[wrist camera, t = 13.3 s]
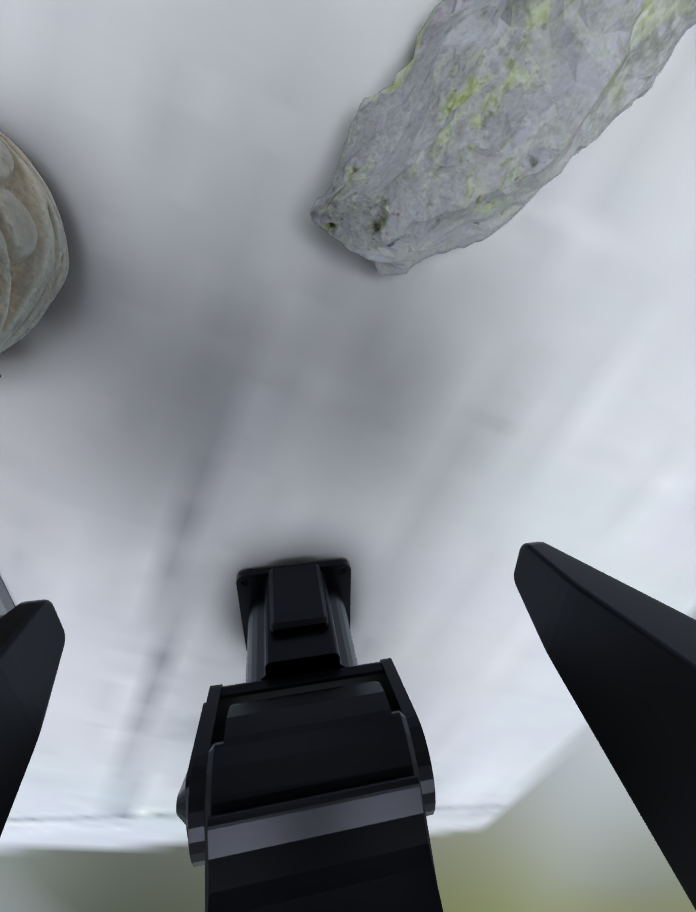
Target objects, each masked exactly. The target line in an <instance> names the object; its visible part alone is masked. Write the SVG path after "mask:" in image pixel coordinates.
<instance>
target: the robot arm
mask: <svg viewBox="0 0 696 912" xmlns="http://www.w3.org/2000/svg"><path fill="white" fill-rule="evenodd" d="M342 567H344V569H340V568H342ZM243 579H248V580H247V581H244V580H243ZM514 580H515V584H516V587H517V589H518V591H519V593H520V595H521V598H522V600H523V602H524V604H525V606H526V609H527V611H528V613H529V615H530V617H531V620H532V622H533V624H534V626H535V628H536V631H537V633H538V635H539V637H540V639H541V641H542V643H543V646H544V648H545V650H546V652H547V653H548V655H549V657H550V659H551V661H552V663H553V664H554V666H555V668H556V670H557V671H558V673H559V675H560V676H561V678H562V680H563V682H564V683H565V685H566V687H567V689H568V690H569V692H570V694H571V695H572V697H573V699H574V701H575V702H576V704H577V706H578V708H579V709H580V711H581V713H582V715H583V716H584V718H585V720H586V721H587V723H588V725H589V727H590V728H591V730H592V732H593V734H594V735H595V737H596V739H597V740H598V742H599V744H600V746H601V747H602V749H603V750H604V753H605V754H606V756H607V758H608V759H609V761H610V763H611V764H612V766H613V768H614V770H615V772H616V773H617V775H618V777H619V778H620V780H621V782H622V784H623V785H624V787H625V788H626V791H627V792H628V794H629V796H630V797H631V799H632V801H633V803H634V804H635V806H636V808H637V810H638V811H639V813H640V815H641V816H642V818H643V820H644V822H645V823H646V825H647V827H648V829H649V830H650V832H651V834H652V836H653V837H654V839H655V841H656V842H657V844H658V846H659V847H660V849H661V851H662V853H663V855H664V856H665V858H666V860H667V861H668V863H669V865H670V866H671V868H672V870H673V872H674V874H675V875H676V877H677V879H678V880H679V882H680V884H681V885H682V887H683V889H684V891H685V892H686V894H687V896H688V898H689V899H690V901H691V903H692V905H693V906H694V908H695V910H696V620H695V619H693V618H691V617H689V616H687V615H685V614H683V613H681V612H679V611H677V610H675V609H673V608H671V607H669V606H667V605H665V604H664V603H662V602H660V601H658V600H656V599H654V598H652V597H650V596H648V595H646V594H644V593H642V592H640V591H638V590H636V589H634V588H632V587H630V586H628V585H626V584H624V583H622V582H620V581H618V580H617V579H615V578H613V577H611V576H609V575H607V574H605V573H603V572H601V571H599V570H597V569H595V568H593V567H591V566H589V565H587V564H585V563H583V562H581V561H579V560H577V559H575V558H573V557H571V556H570V555H568V554H566V553H564V552H562V551H560V550H558V549H556V548H554V547H552V546H550V545H548V544H546V543H544V542H532V543H525V544H523V545H522V546H521V548H520V551H519V555H518V559H517V563H516V567H515V571H514ZM236 584H237V591H238V597H239V604H240V611H241V617H242V624H243V630H244V637H245V643H246V650H247V667H246V683H241V684H235V685H228V686H223V685H222V684H221V685H215V686H210V689H209V693H208V698H207V702H206V703H204V704H203V708H202V712H201V717H200V721H199V725H198V729H197V734H196V738H195V742H194V746H193V750H192V755H191V759H190V763H189V767H188V772H187V774H186V777H185V779H184V782H183V784H182V787H181V789H180V791H179V794H178V797H177V803H176V812H177V815H178V816H179V818H180V819H181V820H182V821H183V822H184V823H185V825H186V829H187V836H188V844H189V852H190V858H191V862H192V864H193V866H194V867H196V866H201V865H205V912H443V909H442V904H441V899H440V895H439V890H438V886H437V880H436V874H435V868H434V863H433V856H432V850H431V844H430V838H429V832H428V826H427V819H426V816H428V815H433V813H434V811H435V803H436V802H435V786H434V777H433V771H432V765H431V761H430V756H429V751H428V747H427V743H426V740H425V736H424V733H423V730H422V727H421V724H420V722H419V719H418V717H417V714H416V712H415V710H414V708H413V706H412V703H411V701H410V699H409V697H408V695H407V692H406V690H405V688H404V686H403V684H402V681H401V679H400V677H399V675H398V673H397V670H396V668H395V666H394V664H393V662H392V659H391V658H388V659H382V660H380V662H375V663H369V664H363V665H358V664H357V659H356V655H355V650H354V646H353V641H352V637H351V632H350V589H351V569H350V565H349V562H348V561H346V560H333V561H324V562H316V563H307V564H298V565H289V566H281V567H272V568H263V569H255V570H246V571H242V572H240V573H239V574H238V575H237V582H236ZM64 644H65V633H64V629H63V627H62V625H61V622H60V620H59V618H58V615H57V613H56V611H55V608H54V606H53V604H52V603H51V602H50V601H49V600H35V601H26V602H22V603H20V604H18V605H17V606H15V607H14V608H13V609H11V610H10V611H9V612H7V613H6V614H5V615H3V616H2V617H1V618H0V836H1V834H2V831H3V828H4V826H5V823H6V821H7V818H8V816H9V813H10V810H11V808H12V805H13V803H14V800H15V797H16V795H17V792H18V790H19V787H20V784H21V782H22V779H23V777H24V774H25V772H26V769H27V766H28V764H29V761H30V759H31V756H32V753H33V751H34V748H35V745H36V743H37V740H38V737H39V734H40V731H41V728H42V724H43V721H44V717H45V714H46V710H47V706H48V703H49V699H50V695H51V692H52V688H53V684H54V681H55V677H56V673H57V670H58V666H59V662H60V659H61V655H62V651H63V648H64Z"/></svg>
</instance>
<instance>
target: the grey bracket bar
mask: <svg viewBox="0 0 696 912" xmlns="http://www.w3.org/2000/svg"><path fill="white" fill-rule="evenodd" d="M14 607H15V606H14V604H13V602H12V600H11V598H10V596H9V594H8V592H7V590H6V588H5V586H4V584H3V582H2V580H1V578H0V618H1V617H2V616H3V615H5V614H6V613H7V612H9V611H10V610H11V609H13V608H14Z"/></svg>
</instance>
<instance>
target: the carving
mask: <svg viewBox="0 0 696 912" xmlns="http://www.w3.org/2000/svg"><path fill="white" fill-rule="evenodd" d="M68 271H69V253H68V246H67V240H66V236H65V232H64V227H63V223H62V219H61V216H60V213H59V211H58V208H57V206H56V204H55V201H54V199H53V197H52V194H51V192H50V190H49V188H48V187H47V185H46V184H45V182H44V180H43V179H42V177H41V176H40V174H39V173H38V172H37V170H36V169H35V167H34V166H33V165H32V163H31V162H30V160H29V159H28V158H27V157H26V155H25V154H24V153H23V152H22V151H21V150H20V149H19V148H18V147H17V146H16V145H15V144H14V143H13V142H12V141H11V140H10V139H9V138H8V137H6V136H5V135H4V134H3V133H2V132H1V131H0V353H1V352H3V351H4V350H6V349H7V348H9V347H10V346H12V345H13V344H15V343H16V342H18V341H19V340H21V339H22V338H23V337H25V336H26V335H27V334H28V333H29V332H30V331H31V330H32V329H33V328H34V327H35V326H36V325H37V324H38V322H39V321H40V320H41V318H42V316H43V315H44V313H45V312H46V310H47V308H48V307H49V306H50V304H51V303H52V302H53V300H54V299H55V298H56V296H57V294H58V293H59V291H60V290H61V288H62V286H63V284H64V282H65V280H66V278H67V275H68Z"/></svg>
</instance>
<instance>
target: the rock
mask: <svg viewBox="0 0 696 912" xmlns="http://www.w3.org/2000/svg"><path fill="white" fill-rule="evenodd" d="M695 24H696V0H443V1H442V2H441V3H440V4H439V5H437V6H436V7H435V8H434V10H433V12H432V13H431V15H430V17H429V19H428V21H427V22H426V24H425V25H424V27H423V29H422V30H421V32H420V33H419V35H418V36H417V38H416V45H415V51H414V55H413V60H412V61H411V62H410V63H409V64H408V65H407V66H406V67H405V68H403V69H402V70H401V71H399V72H398V73H397V74H396V76H395V79H394V82H393V85H392V86H390V87H387V88H384V89H383V90H381V91H380V92H379V93H378V94H377V95H376V96H374V97H369V98H364V99H363V101H362V103H361V105H360V106H359V110H358V113H357V116H356V117H355V119H354V120H353V123H352V125H351V128H350V132H349V136H348V139H347V140H346V142H345V146H344V151H343V154H342V157H341V160H340V162H339V165H338V168H337V171H336V174H335V176H334V179H333V181H332V184H331V186H330V188H329V189H328V191H327V192H326V194H325V195H324V196H322V197H320V198H318V200H317V201H316V202H315V203H314V205H313V206H312V209H311V218H312V220H313V222H314V223H315V224H316V225H318V226H319V227H320V228H322V229H325V230H328V234H329V235H330V236H332V237H334V238H335V239H337V240H338V241H340V242H342V243H343V244H344V246H345V247H346V248H347V249H348V250H350V251H351V252H355V253H357V254H358V255H360V256H362V257H364V258H365V259H368V260H372V261H373V262H374V264H375V266H376V269H377V272H378V273H379V274H380V275H381V276H382V277H385V276H392V275H399V274H405V273H407V272H408V270H409V269H410V268H411V267H412V266H413V265H414V264H416V263H418V262H420V261H421V260H423V259H425V258H427V257H429V256H432V255H434V254H439V253H446V252H448V251H450V250H453V249H455V248H465V247H467V246H469V245H470V244H472V243H474V242H479V241H482V240H484V239H485V238H487V237H489V236H490V235H492V234H493V233H495V232H496V231H497V230H498V229H500V228H501V227H502V226H504V225H505V224H506V223H507V222H508V221H509V220H511V219H512V218H513V217H514V216H515V215H516V214H517V213H518V212H519V211H520V210H521V209H522V208H523V207H524V206H525V205H526V204H527V203H528V202H529V201H530V200H531V199H532V198H533V197H534V195H535V194H536V193H537V192H538V191H539V190H540V189H541V188H542V187H543V186H544V185H545V184H547V183H548V182H549V181H551V180H552V179H553V178H555V177H556V176H557V175H559V174H560V173H561V172H562V170H563V169H564V167H565V166H566V164H567V163H568V162H569V160H570V159H571V157H572V156H574V155H575V154H577V153H578V152H579V151H580V150H581V149H583V148H585V147H587V146H588V145H589V144H590V143H591V142H593V141H594V140H596V139H597V138H598V137H599V136H600V134H601V133H602V132H603V131H604V130H605V128H606V127H607V126H608V125H609V124H610V123H611V122H612V121H613V120H614V119H615V118H616V117H617V116H618V115H619V114H620V113H621V112H623V111H624V110H626V109H627V108H629V107H630V106H632V103H633V101H634V100H636V99H637V98H640V97H642V96H644V94H645V93H646V92H647V91H648V90H649V89H650V88H651V87H652V86H653V83H654V81H655V78H656V76H657V75H658V74H659V73H660V72H661V71H662V69H663V68H664V66H665V64H666V63H667V61H668V59H669V58H670V56H671V55H672V52H673V50H674V48H675V46H676V44H677V43H678V42H679V40H680V39H681V37H682V36H683V35H684V33H685V32H686V30H688V29H689V28H690V27H692V26H693V25H695Z"/></svg>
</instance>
